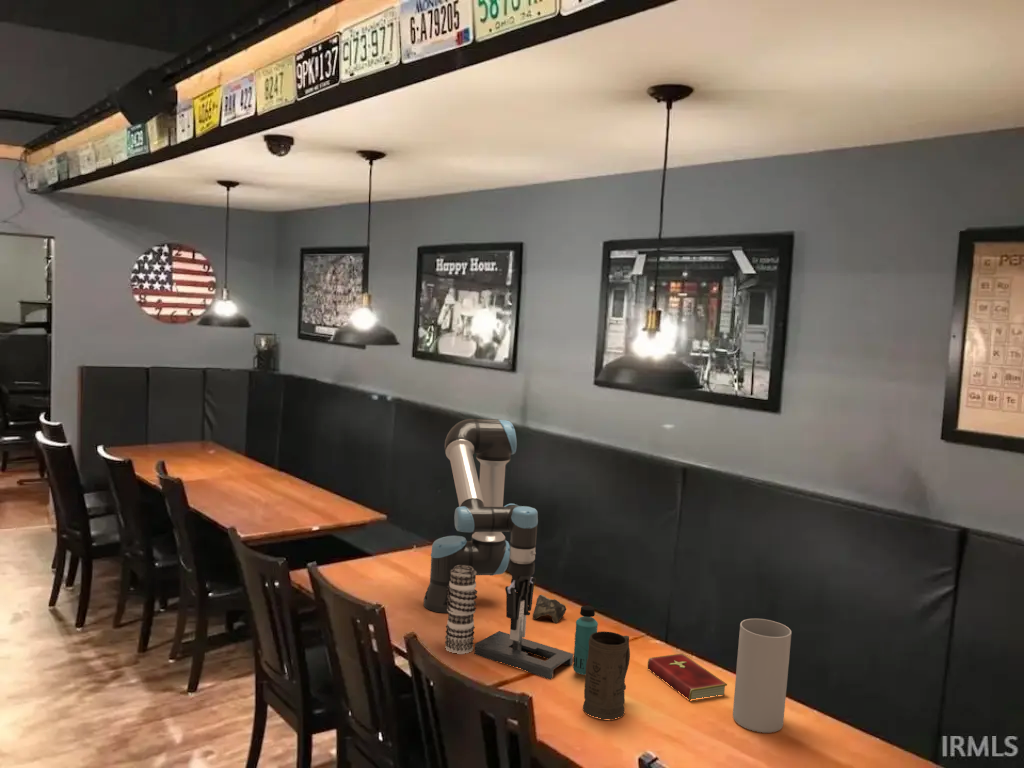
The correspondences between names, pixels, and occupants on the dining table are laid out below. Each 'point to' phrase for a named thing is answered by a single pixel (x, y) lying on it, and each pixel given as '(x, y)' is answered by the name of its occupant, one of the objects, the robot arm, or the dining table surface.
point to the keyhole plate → (523, 654)
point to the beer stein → (606, 675)
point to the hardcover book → (686, 676)
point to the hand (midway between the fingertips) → (517, 637)
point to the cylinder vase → (761, 675)
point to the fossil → (549, 608)
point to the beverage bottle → (583, 638)
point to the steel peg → (518, 644)
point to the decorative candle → (461, 609)
